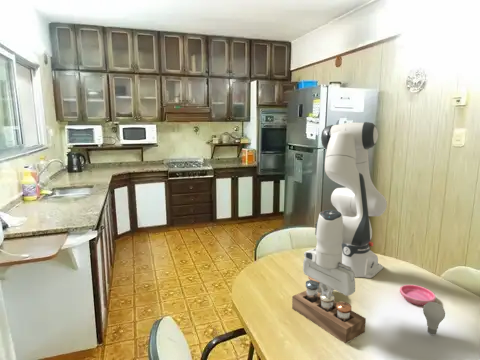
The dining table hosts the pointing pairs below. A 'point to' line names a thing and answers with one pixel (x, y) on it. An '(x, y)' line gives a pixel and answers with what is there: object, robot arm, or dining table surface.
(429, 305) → the lightbulb
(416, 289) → the saucer
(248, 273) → the dining table surface
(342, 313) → the copper-lid spice jar
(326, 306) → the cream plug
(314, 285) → the grey-lidded spice jar
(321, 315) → the socket board
